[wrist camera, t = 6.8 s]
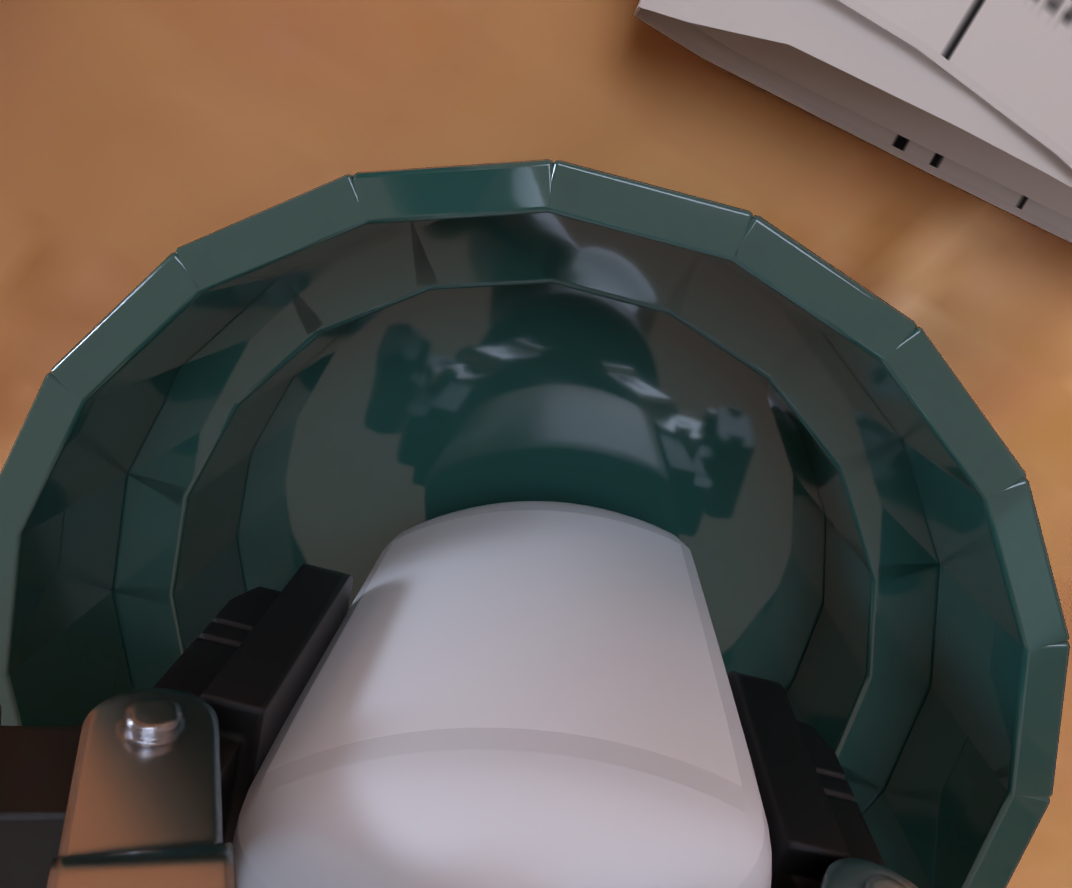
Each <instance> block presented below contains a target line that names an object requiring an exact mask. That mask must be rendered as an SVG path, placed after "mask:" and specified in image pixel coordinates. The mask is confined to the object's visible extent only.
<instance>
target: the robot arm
mask: <svg viewBox="0 0 1072 888" xmlns="http://www.w3.org/2000/svg"><path fill="white" fill-rule="evenodd" d="M352 585H353V576H352V575H350V574H346V573H342V572H338V571H334V570H330V569H326V568H322V567H318V566H314V565H310V564H303V565H302V566H301V567H300V568H299V570H298V571H297V572H296V573H295V575H294V576H293V577H292V579H291V580H290V581H289V582H288V584H287V585H286V586H285V588H284V589H283V590H282V591H281V592H280V591H276V590H272V589H268V588H264V587H260V586H259V587H257V588H254V589H252V590H250V591H248V592H246V593H243V594H241V595H239V596H237V597H235V598H232V599H231V600H230V601H229V602H228V603H227V604H226V605H225V607H224V608H223V609H222V610H221V611H220V612H219V613H218V614H217V616H216V617H215V618H214V621H213V622H210V623H209V625H208V626H207V627H206V628H205V629H204V630H203V631H202V632H201V634H200V637H199V638H196V639H195V640H194V641H193V643H192V644H191V645H190V646H189V647H188V648H187V649H186V650H185V652H184V653H183V654H182V655H181V656H180V657H179V658H178V659H177V661H176V662H175V663H174V664H173V665H172V666H171V667H170V668H169V670H168V671H167V672H166V673H165V674H164V675H163V676H162V677H161V679H160V680H159V681H158V682H157V683H156V684H155V685H154V686H153V688H143V689H137V690H132V691H128V692H124V693H121V694H118V695H115V696H113V697H111V698H109V699H107V700H105V701H103V702H102V703H100V704H99V705H97V706H96V707H95V708H94V709H93V710H92V711H91V712H90V713H89V714H88V716H87V717H86V719H85V720H84V723H83V725H75V726H56V727H54V726H1V704H0V888H235V872H234V854H233V847H232V846H233V839H234V833H235V829H236V825H237V821H238V818H239V814H240V811H241V808H242V806H243V803H244V800H245V798H246V795H247V792H248V790H249V788H250V786H251V784H252V782H253V780H254V778H255V776H256V774H257V773H258V771H259V769H260V767H261V765H262V763H263V761H264V759H265V757H266V756H267V754H268V752H269V750H270V748H271V746H272V744H273V743H274V741H275V739H276V737H277V735H278V733H279V732H280V730H281V728H282V726H283V724H284V723H285V721H286V719H287V717H288V716H289V714H290V712H291V710H292V709H293V707H294V705H295V703H296V702H297V700H298V698H299V697H300V695H301V693H302V691H303V690H304V688H305V686H306V684H307V683H308V681H309V679H310V677H311V676H312V674H313V672H314V670H315V669H316V667H317V665H318V663H319V662H320V660H321V658H322V656H323V655H324V653H325V651H326V649H327V648H328V646H329V644H330V642H331V641H332V639H333V637H334V635H335V634H336V632H337V630H338V628H339V627H340V625H341V623H342V621H343V620H344V618H345V616H346V615H347V612H348V607H349V602H350V597H351V591H352ZM727 676H728V680H729V683H730V687H731V690H732V694H733V698H734V701H735V705H736V708H737V712H738V715H739V719H740V722H741V726H742V729H743V733H744V736H745V740H746V743H747V747H748V750H749V754H750V757H751V761H752V765H753V769H754V773H755V777H756V781H757V784H758V788H759V792H760V796H761V800H762V804H763V808H764V812H765V816H766V819H767V823H768V828H769V836H770V843H771V851H772V879H771V888H918V887H917V886H916V885H914V884H913V883H912V882H910V881H909V880H908V879H906V878H905V877H903V876H902V875H900V874H898V873H897V872H895V871H893V870H891V869H889V868H887V867H886V866H885V864H884V862H883V860H882V857H881V855H880V853H879V851H878V848H877V846H876V844H875V842H874V839H873V837H872V835H871V833H870V830H869V828H868V826H867V824H866V821H865V819H864V817H863V815H862V812H861V810H860V808H859V806H858V803H857V802H854V794H853V792H852V790H851V788H850V785H849V783H848V781H846V780H845V774H844V772H843V770H842V767H841V765H840V763H839V761H838V758H837V756H836V754H835V752H834V750H833V749H832V747H831V746H830V745H829V744H828V743H827V742H826V741H825V740H824V739H823V738H822V737H821V736H820V734H819V733H818V732H817V731H816V730H815V729H814V728H813V727H812V726H811V725H810V724H807V723H803V722H799V721H797V720H796V718H795V715H794V713H793V710H792V708H791V705H790V703H789V700H788V698H787V695H786V693H785V690H784V688H783V686H782V684H781V683H779V682H775V681H771V680H767V679H763V678H759V677H755V676H751V675H747V674H743V673H739V672H735V671H730V672H729V673H728V674H727Z"/></svg>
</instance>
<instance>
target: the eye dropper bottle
mask: <svg viewBox="0 0 1072 888" xmlns="http://www.w3.org/2000/svg"><path fill="white" fill-rule="evenodd" d="M232 847H233V854H234V872H235V888H771V879H772V851H771V843H770V836H769V828H768V823H767V819H766V816H765V812H764V808H763V804H762V800H761V796H760V792H759V788H758V784H757V781H756V777H755V773H754V769H753V765H752V761H751V757H750V754H749V750H748V747H747V743H746V740H745V736H744V733H743V729H742V726H741V722H740V719H739V715H738V712H737V708H736V705H735V701H734V698H733V694H732V690H731V687H730V683H729V680H728V676H727V673H726V669H725V666H724V662H723V659H722V655H721V652H720V649H719V645H718V642H717V638H716V635H715V631H714V628H713V625H712V621H711V618H710V614H709V611H708V607H707V604H706V601H705V597H704V594H703V590H702V587H701V584H700V580H699V577H698V573H697V570H696V567H695V563H694V560H693V557H692V554H691V551H690V549H689V548H688V547H687V546H686V545H685V544H684V543H683V542H681V541H680V540H679V539H678V538H677V537H676V536H675V535H673V534H672V533H670V532H667V531H665V530H663V529H661V528H659V527H657V526H655V525H653V524H650V523H647V522H645V521H642V520H640V519H637V518H634V517H631V516H627V515H624V514H621V513H618V512H614V511H610V510H606V509H602V508H597V507H592V506H587V505H580V504H574V503H565V502H554V501H516V502H503V503H495V504H488V505H482V506H477V507H472V508H467V509H463V510H459V511H455V512H452V513H449V514H445V515H442V516H439V517H436V518H433V519H431V520H428V521H425V522H423V523H420V524H418V525H415V526H413V527H411V528H409V529H407V530H405V531H403V532H401V533H400V534H399V535H397V536H396V537H395V538H394V539H393V540H392V541H391V542H390V543H389V544H388V545H387V546H386V547H385V548H384V550H383V551H382V553H381V555H380V556H379V558H378V560H377V562H376V563H375V565H374V567H373V568H372V570H371V572H370V574H369V575H368V577H367V579H366V581H365V582H364V584H363V586H362V587H361V589H360V591H359V593H358V594H357V596H356V598H355V600H354V601H353V603H352V605H351V606H350V608H349V610H348V612H347V615H346V616H345V618H344V620H343V621H342V623H341V625H340V627H339V628H338V630H337V632H336V634H335V635H334V637H333V639H332V641H331V642H330V644H329V646H328V648H327V649H326V651H325V653H324V655H323V656H322V658H321V660H320V662H319V663H318V665H317V667H316V669H315V670H314V672H313V674H312V676H311V677H310V679H309V681H308V683H307V684H306V686H305V688H304V690H303V691H302V693H301V695H300V697H299V698H298V700H297V702H296V703H295V705H294V707H293V709H292V710H291V712H290V714H289V716H288V717H287V719H286V721H285V723H284V724H283V726H282V728H281V730H280V732H279V733H278V735H277V737H276V739H275V741H274V743H273V744H272V746H271V748H270V750H269V752H268V754H267V756H266V757H265V759H264V761H263V763H262V765H261V767H260V769H259V771H258V773H257V774H256V776H255V778H254V780H253V782H252V784H251V786H250V788H249V790H248V792H247V795H246V798H245V800H244V803H243V806H242V808H241V811H240V814H239V818H238V821H237V825H236V829H235V833H234V839H233V846H232Z"/></svg>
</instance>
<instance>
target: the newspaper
mask: <svg viewBox="0 0 1072 888" xmlns="http://www.w3.org/2000/svg"><path fill="white" fill-rule="evenodd" d="M633 16H635V17H636V18H638V19H640V20H641V21H643V22H644V23H646V24H648V25H649V26H651V27H652V28H654V29H656V30H657V31H659V32H660V33H662V34H664V35H665V36H667V37H668V38H670V39H672V40H673V41H675V42H677V43H678V44H680V45H681V46H683V47H685V48H686V49H688V50H689V51H691V52H693V53H694V54H696V55H697V56H699V57H701V58H702V59H704V60H706V61H708V62H710V63H712V64H714V65H716V66H718V67H720V68H722V69H724V70H726V71H728V72H730V73H732V74H734V75H736V76H738V77H740V78H742V79H744V80H746V81H748V82H750V83H752V84H754V85H756V86H758V87H760V88H762V89H764V90H765V91H767V92H769V93H771V94H773V95H775V96H777V97H779V98H781V99H783V100H785V101H787V102H789V103H791V104H793V105H795V106H797V107H799V108H801V109H803V110H805V111H807V112H809V113H811V114H813V115H815V116H817V117H819V118H821V119H823V120H825V121H827V122H829V123H830V124H832V125H834V126H836V127H838V128H840V129H842V130H844V131H846V132H848V133H850V134H852V135H854V136H856V137H858V138H860V139H862V140H864V141H866V142H868V143H870V144H872V145H874V146H876V147H878V148H880V149H882V150H884V151H886V152H888V153H890V154H892V155H893V156H895V157H897V158H899V159H901V160H903V161H905V162H907V163H909V164H911V165H913V166H915V167H917V168H919V169H921V170H923V171H925V172H927V173H929V174H931V175H933V176H935V177H937V178H939V179H941V180H943V181H945V182H947V183H950V184H952V185H954V186H956V187H958V188H960V189H962V190H964V191H966V192H968V193H970V194H972V195H974V196H976V197H978V198H980V199H982V200H984V201H986V202H988V203H990V204H992V205H994V206H996V207H998V208H1000V209H1003V210H1005V211H1007V212H1009V213H1011V214H1013V215H1015V216H1017V217H1019V218H1021V219H1023V220H1025V221H1027V222H1029V223H1031V224H1033V225H1035V226H1037V227H1039V228H1041V229H1043V230H1045V231H1047V232H1049V233H1051V234H1053V235H1056V236H1058V237H1060V238H1062V239H1064V240H1066V241H1068V242H1070V243H1072V0H640V1H639V3H638V5H637V8H636V10H635V12H634V14H633Z"/></svg>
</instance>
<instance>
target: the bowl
mask: <svg viewBox="0 0 1072 888" xmlns="http://www.w3.org/2000/svg"><path fill="white" fill-rule="evenodd" d="M516 501H554V502H565V503H574V504H580V505H587V506H592V507H597V508H602V509H606V510H610V511H614V512H618V513H621V514H624V515H627V516H631V517H634V518H637V519H640V520H642V521H645V522H647V523H650V524H653V525H655V526H657V527H659V528H661V529H663V530H665V531H667V532H670V533H672V534H673V535H675V536H676V537H677V538H678V539H679V540H680V541H681V542H683V543H684V544H685V545H686V546H687V547H688V548H689V549H690V551H691V554H692V557H693V560H694V563H695V567H696V570H697V573H698V577H699V580H700V584H701V587H702V590H703V594H704V597H705V601H706V604H707V607H708V611H709V614H710V618H711V621H712V625H713V628H714V631H715V635H716V638H717V642H718V645H719V649H720V652H721V655H722V659H723V662H724V666H725V669H726V673H727V674H728V673H729V672H730V671H735V672H739V673H743V674H747V675H751V676H755V677H759V678H763V679H767V680H771V681H775V682H779V683H781V684H782V686H783V688H784V690H785V693H786V695H787V698H788V700H789V703H790V705H791V708H792V710H793V713H794V715H795V718H796V720H797V721H799V722H803V723H807V724H810V725H811V726H812V727H813V728H814V729H815V730H816V731H817V732H818V733H819V734H820V736H821V737H822V738H823V739H824V740H825V741H826V742H827V743H828V744H829V745H830V746H831V747H832V749H833V750H834V752H835V754H836V756H837V758H838V761H839V763H840V765H841V767H842V770H843V772H844V774H845V780H846V781H848V783H849V785H850V788H851V790H852V792H853V794H854V802H857V803H858V806H859V808H860V810H861V812H862V815H863V817H864V819H865V821H866V824H867V826H868V828H869V830H870V833H871V835H872V837H873V839H874V842H875V844H876V846H877V848H878V851H879V853H880V855H881V857H882V860H883V862H884V864H885V866H886V867H887V868H889V869H891V870H893V871H895V872H897V873H898V874H900V875H902V876H903V877H905V878H906V879H908V880H909V881H910V882H912V883H913V884H914V885H916V886H917V887H918V888H1006V886H1007V884H1008V883H1009V881H1010V879H1011V877H1012V875H1013V873H1014V871H1015V869H1016V867H1017V865H1018V863H1019V861H1020V859H1021V857H1022V855H1023V853H1024V851H1025V849H1026V848H1027V846H1028V844H1029V842H1030V840H1031V838H1032V836H1033V834H1034V832H1035V830H1036V828H1037V826H1038V824H1039V822H1040V820H1041V818H1042V816H1043V814H1044V813H1045V811H1046V809H1047V807H1048V805H1049V803H1050V798H1049V797H1050V796H1051V795H1052V792H1053V784H1054V775H1055V767H1056V759H1057V750H1058V742H1059V733H1060V725H1061V716H1062V708H1063V700H1064V691H1065V683H1066V674H1067V666H1068V657H1069V649H1070V646H1069V642H1068V640H1069V634H1068V630H1067V626H1066V623H1065V619H1064V615H1063V611H1062V607H1061V603H1060V600H1059V596H1058V592H1057V588H1056V584H1055V580H1054V577H1053V573H1052V569H1051V565H1050V561H1049V557H1048V554H1047V550H1046V546H1045V542H1044V538H1043V534H1042V531H1041V527H1040V523H1039V519H1038V515H1037V511H1036V507H1035V504H1034V500H1033V496H1032V492H1031V488H1030V484H1029V481H1028V479H1027V478H1026V474H1025V471H1024V470H1023V468H1022V467H1021V466H1020V464H1019V463H1018V461H1017V460H1016V459H1015V457H1014V456H1013V454H1012V453H1011V452H1010V450H1009V449H1008V447H1007V446H1006V445H1005V443H1004V442H1003V440H1002V439H1001V438H1000V436H999V435H998V434H997V432H996V431H995V429H994V428H993V427H992V425H991V424H990V422H989V421H988V420H987V418H986V417H985V415H984V414H983V413H982V411H981V410H980V408H979V407H978V406H977V404H976V403H975V401H974V400H973V399H972V397H971V396H970V394H969V393H968V392H967V390H966V389H965V388H964V386H963V385H962V383H961V382H960V381H959V379H958V378H957V376H956V375H955V374H954V372H953V371H952V369H951V368H950V367H949V365H948V364H947V362H946V361H945V360H944V358H943V357H942V355H941V354H940V353H939V351H938V350H937V349H936V347H935V346H934V344H933V343H932V342H931V340H930V339H929V337H928V336H927V335H926V333H925V332H924V330H923V329H922V328H920V327H918V326H916V324H915V322H914V321H913V320H911V319H910V318H909V317H907V316H906V315H904V314H903V313H901V312H900V311H898V310H897V309H895V308H894V307H892V306H891V305H889V304H888V303H886V302H885V301H884V300H882V299H881V298H879V297H878V296H876V295H875V294H873V293H872V292H870V291H869V290H867V289H866V288H864V287H863V286H862V285H860V284H859V283H857V282H856V281H854V280H853V279H851V278H850V277H848V276H847V275H845V274H844V273H842V272H841V271H839V270H838V269H837V268H835V267H834V266H832V265H831V264H829V263H828V262H826V261H825V260H823V259H822V258H820V257H819V256H817V255H816V254H815V253H813V252H812V251H810V250H809V249H807V248H806V247H804V246H803V245H801V244H800V243H798V242H797V241H795V240H794V239H792V238H791V237H790V236H788V235H787V234H785V233H784V232H782V231H781V230H779V229H778V228H776V227H775V226H773V225H772V224H770V223H769V222H768V221H766V220H765V219H763V218H762V217H760V216H757V215H753V214H752V213H751V212H750V211H747V210H744V209H740V208H736V207H732V206H729V205H725V204H721V203H717V202H714V201H710V200H706V199H703V198H699V197H695V196H691V195H688V194H684V193H680V192H676V191H673V190H669V189H665V188H662V187H658V186H654V185H650V184H647V183H643V182H639V181H636V180H632V179H628V178H624V177H621V176H617V175H613V174H609V173H606V172H602V171H598V170H595V169H591V168H587V167H583V166H580V165H576V164H572V163H569V162H565V161H561V160H556V161H555V162H553V161H552V160H549V159H544V160H529V161H515V162H500V163H486V164H471V165H457V166H442V167H428V168H413V169H399V170H384V171H370V172H357V173H355V174H354V175H351V174H347V175H344V176H342V177H340V178H338V179H335V180H333V181H331V182H328V183H326V184H324V185H321V186H319V187H317V188H314V189H312V190H310V191H308V192H305V193H303V194H301V195H298V196H296V197H294V198H291V199H289V200H287V201H284V202H282V203H280V204H278V205H275V206H273V207H271V208H268V209H266V210H264V211H261V212H259V213H257V214H255V215H252V216H250V217H248V218H245V219H243V220H241V221H238V222H236V223H234V224H231V225H229V226H227V227H225V228H222V229H220V230H218V231H215V232H213V233H211V234H208V235H206V236H204V237H201V238H199V239H197V240H195V241H192V242H190V243H188V244H185V245H183V246H181V247H178V249H177V250H176V252H173V253H171V254H170V255H169V256H168V257H167V258H166V259H165V260H164V261H163V262H162V263H161V264H160V265H159V266H157V267H156V268H155V269H154V270H153V271H152V272H151V273H150V274H149V275H148V276H147V277H146V278H145V279H144V280H143V281H142V282H141V283H140V284H139V285H138V286H137V287H136V288H135V289H134V290H133V291H131V292H130V293H129V294H128V295H127V296H126V297H125V298H124V299H123V300H122V301H121V302H120V303H119V304H118V305H117V306H116V307H115V308H114V309H113V310H112V311H111V312H110V313H109V314H108V315H107V316H105V317H104V318H103V319H102V320H101V321H100V322H99V323H98V324H97V325H96V326H95V327H94V328H93V329H92V330H91V331H90V332H89V333H88V334H87V335H86V336H85V337H84V338H83V339H82V340H81V341H79V342H78V343H77V344H76V345H75V346H74V347H73V348H72V349H71V350H70V351H69V352H68V353H67V354H66V355H65V356H64V357H63V358H62V359H61V360H60V361H59V362H58V363H57V364H56V365H55V366H53V368H52V369H51V372H50V373H48V374H47V375H46V377H45V379H44V381H43V383H42V385H41V387H40V390H39V392H38V394H37V396H36V398H35V400H34V402H33V405H32V407H31V409H30V411H29V413H28V415H27V417H26V420H25V422H24V424H23V426H22V428H21V430H20V432H19V435H18V437H17V439H16V441H15V443H14V445H13V447H12V450H11V452H10V454H9V456H8V458H7V460H6V462H5V465H4V467H3V469H2V471H1V473H0V704H1V726H54V727H56V726H75V725H83V723H84V720H85V719H86V717H87V716H88V714H89V713H90V712H91V711H92V710H93V709H94V708H95V707H96V706H97V705H99V704H100V703H102V702H103V701H105V700H107V699H109V698H111V697H113V696H115V695H118V694H121V693H124V692H128V691H132V690H137V689H143V688H153V686H154V685H155V684H156V683H157V682H158V681H159V680H160V679H161V677H162V676H163V675H164V674H165V673H166V672H167V671H168V670H169V668H170V667H171V666H172V665H173V664H174V663H175V662H176V661H177V659H178V658H179V657H180V656H181V655H182V654H183V653H184V652H185V650H186V649H187V648H188V647H189V646H190V645H191V644H192V643H193V641H194V640H195V639H196V638H199V637H200V634H201V632H202V631H203V630H204V629H205V628H206V627H207V626H208V625H209V623H210V622H213V621H214V618H215V617H216V616H217V614H218V613H219V612H220V611H221V610H222V609H223V608H224V607H225V605H226V604H227V603H228V602H229V601H230V600H231V599H232V598H235V597H237V596H239V595H241V594H243V593H246V592H248V591H250V590H252V589H254V588H257V587H259V586H260V587H264V588H268V589H272V590H276V591H280V592H281V591H282V590H283V589H284V588H285V586H286V585H287V584H288V582H289V581H290V580H291V579H292V577H293V576H294V575H295V573H296V572H297V571H298V570H299V568H300V567H301V566H302V565H303V564H310V565H314V566H318V567H322V568H326V569H330V570H334V571H338V572H342V573H346V574H350V575H352V576H353V585H352V591H351V597H350V602H349V607H348V610H349V608H350V606H351V605H352V603H353V601H354V600H355V598H356V596H357V594H358V593H359V591H360V589H361V587H362V586H363V584H364V582H365V581H366V579H367V577H368V575H369V574H370V572H371V570H372V568H373V567H374V565H375V563H376V562H377V560H378V558H379V556H380V555H381V553H382V551H383V550H384V548H385V547H386V546H387V545H388V544H389V543H390V542H391V541H392V540H393V539H394V538H395V537H396V536H397V535H399V534H400V533H401V532H403V531H405V530H407V529H409V528H411V527H413V526H415V525H418V524H420V523H423V522H425V521H428V520H431V519H433V518H436V517H439V516H442V515H445V514H449V513H452V512H455V511H459V510H463V509H467V508H472V507H477V506H482V505H488V504H495V503H503V502H516Z"/></svg>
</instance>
